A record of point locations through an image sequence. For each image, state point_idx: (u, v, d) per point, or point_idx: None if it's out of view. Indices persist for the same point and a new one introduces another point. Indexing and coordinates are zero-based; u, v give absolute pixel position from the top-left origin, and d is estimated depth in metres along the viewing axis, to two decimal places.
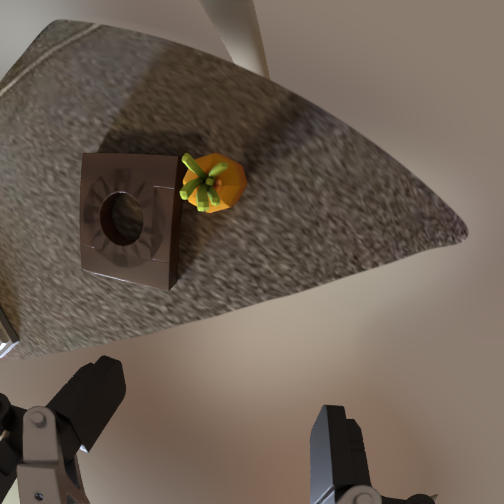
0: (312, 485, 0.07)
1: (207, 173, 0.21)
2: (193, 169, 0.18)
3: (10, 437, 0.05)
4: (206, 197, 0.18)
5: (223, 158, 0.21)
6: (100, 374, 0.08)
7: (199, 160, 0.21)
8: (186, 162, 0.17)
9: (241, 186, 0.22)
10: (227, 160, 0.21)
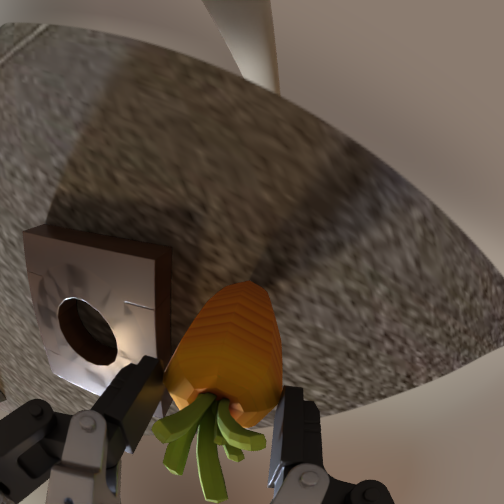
0: (270, 464, 0.08)
1: (212, 391, 0.09)
2: (183, 434, 0.07)
3: (47, 445, 0.05)
4: (220, 480, 0.07)
5: (244, 357, 0.09)
6: (146, 374, 0.09)
7: (192, 360, 0.09)
8: None
9: None
10: (253, 360, 0.10)
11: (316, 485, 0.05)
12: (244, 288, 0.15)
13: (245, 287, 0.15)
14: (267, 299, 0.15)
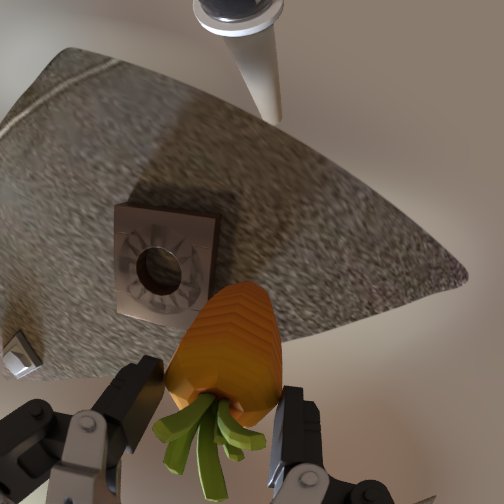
0: (270, 464, 0.08)
1: (212, 391, 0.09)
2: (183, 434, 0.07)
3: (47, 445, 0.05)
4: (220, 479, 0.07)
5: (244, 357, 0.09)
6: (146, 374, 0.09)
7: (192, 360, 0.09)
8: (165, 442, 0.06)
9: None
10: (253, 360, 0.10)
11: (316, 485, 0.05)
12: (244, 288, 0.15)
13: (245, 287, 0.15)
14: (267, 299, 0.15)
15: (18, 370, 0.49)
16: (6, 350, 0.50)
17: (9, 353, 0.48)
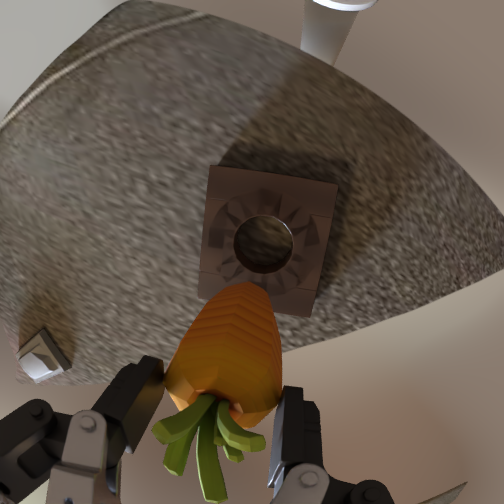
0: (270, 464, 0.08)
1: (212, 392, 0.09)
2: (183, 435, 0.07)
3: (47, 445, 0.05)
4: (219, 480, 0.07)
5: (244, 358, 0.09)
6: (146, 374, 0.09)
7: (191, 361, 0.09)
8: None
9: (279, 398, 0.10)
10: (252, 361, 0.10)
11: (316, 485, 0.05)
12: (244, 289, 0.15)
13: (245, 288, 0.15)
14: (267, 300, 0.15)
15: (39, 374, 0.46)
16: (24, 351, 0.46)
17: (29, 355, 0.44)
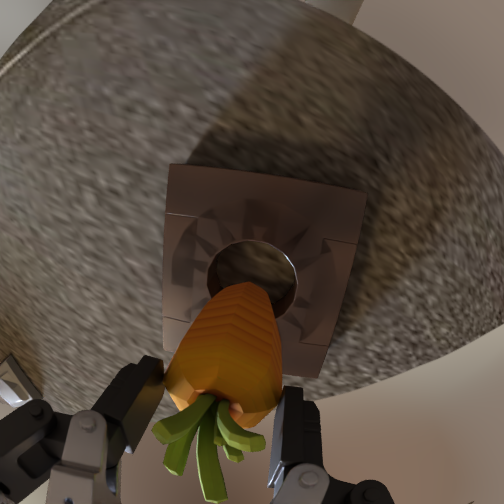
0: (270, 464, 0.08)
1: (212, 392, 0.09)
2: (183, 435, 0.07)
3: (47, 445, 0.05)
4: (220, 480, 0.07)
5: (244, 358, 0.09)
6: (145, 374, 0.09)
7: (191, 361, 0.09)
8: None
9: (279, 398, 0.10)
10: (252, 361, 0.10)
11: (316, 485, 0.05)
12: (244, 289, 0.15)
13: (245, 288, 0.15)
14: (267, 300, 0.15)
15: (13, 401, 0.35)
16: None
17: (0, 381, 0.34)
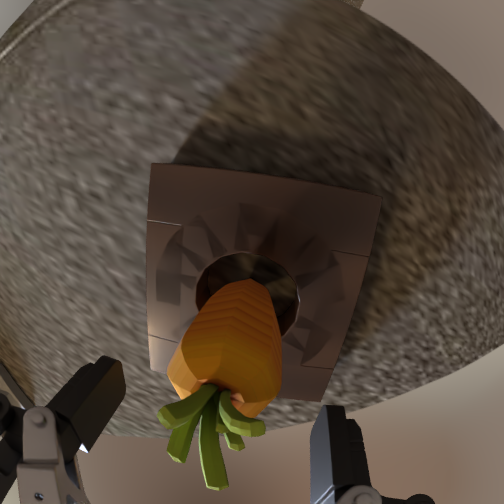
0: (312, 485, 0.07)
1: (214, 382, 0.10)
2: (187, 421, 0.07)
3: (10, 437, 0.05)
4: (221, 467, 0.07)
5: (245, 349, 0.10)
6: (100, 374, 0.08)
7: (195, 351, 0.10)
8: (169, 428, 0.07)
9: (279, 388, 0.11)
10: (253, 352, 0.10)
11: None
12: (245, 285, 0.15)
13: (246, 284, 0.16)
14: (267, 296, 0.16)
15: None
16: None
17: None
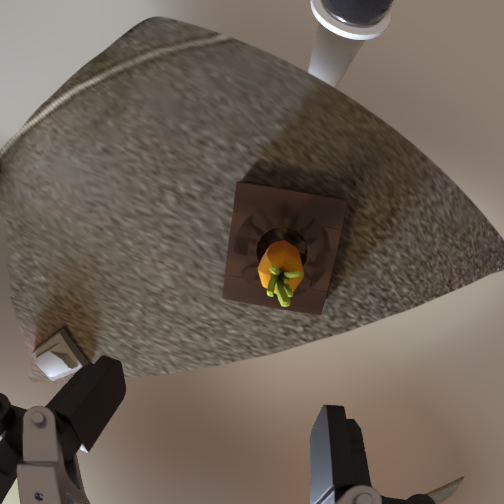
0: (312, 485, 0.07)
1: (280, 269, 0.28)
2: (276, 274, 0.26)
3: (10, 437, 0.05)
4: (287, 296, 0.26)
5: (291, 256, 0.28)
6: (100, 374, 0.08)
7: (273, 257, 0.28)
8: (274, 272, 0.25)
9: (303, 276, 0.29)
10: (294, 257, 0.28)
11: None
12: (284, 240, 0.34)
13: (284, 240, 0.34)
14: (294, 246, 0.34)
15: (57, 372, 0.50)
16: (42, 350, 0.51)
17: (47, 353, 0.49)
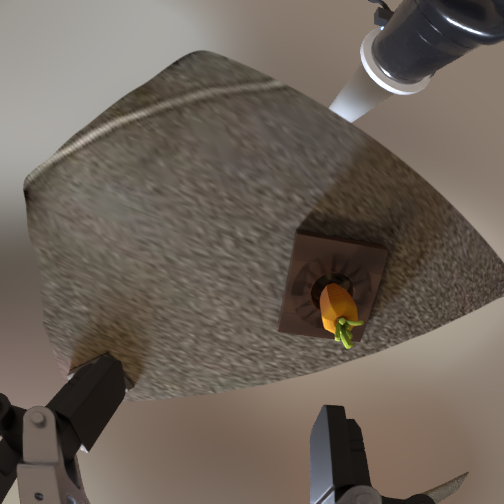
0: (312, 485, 0.07)
1: (342, 316, 0.33)
2: (343, 324, 0.30)
3: (10, 437, 0.05)
4: (350, 340, 0.30)
5: (350, 305, 0.33)
6: (100, 374, 0.08)
7: (336, 307, 0.33)
8: (343, 323, 0.29)
9: (357, 319, 0.34)
10: (352, 306, 0.33)
11: None
12: (337, 286, 0.38)
13: (337, 285, 0.39)
14: (345, 290, 0.39)
15: None
16: None
17: None
